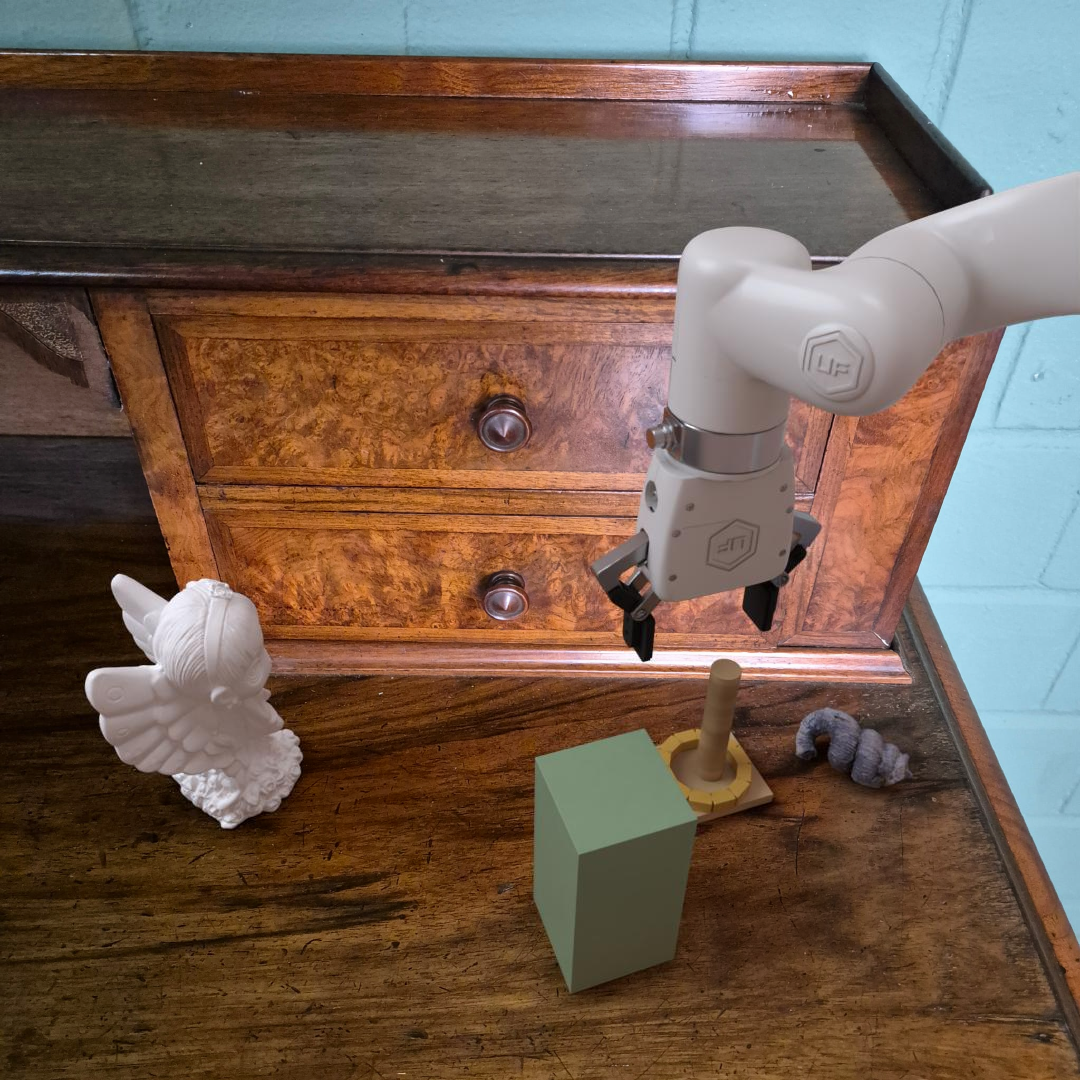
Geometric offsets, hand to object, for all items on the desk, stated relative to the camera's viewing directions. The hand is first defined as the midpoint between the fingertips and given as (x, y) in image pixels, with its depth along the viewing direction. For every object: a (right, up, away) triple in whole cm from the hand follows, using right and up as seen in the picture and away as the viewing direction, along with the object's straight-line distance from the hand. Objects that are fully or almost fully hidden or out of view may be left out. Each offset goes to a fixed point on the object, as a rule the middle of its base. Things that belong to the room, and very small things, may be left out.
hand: (698, 634), depth 70 cm
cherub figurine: (-38, -14, +11) cm, 42 cm away
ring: (+2, -13, +11) cm, 17 cm away
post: (+3, -14, +12) cm, 18 cm away
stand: (-7, -22, 0) cm, 23 cm away
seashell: (+15, -13, +13) cm, 24 cm away
